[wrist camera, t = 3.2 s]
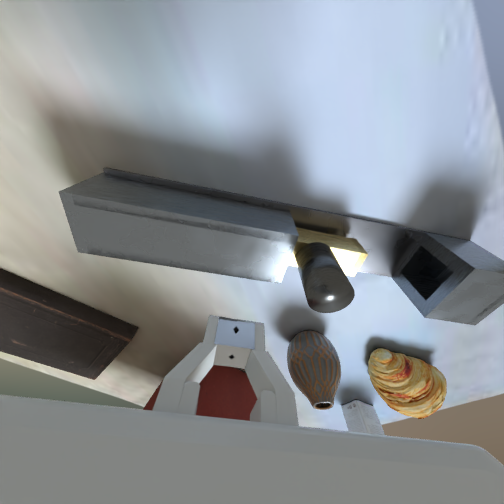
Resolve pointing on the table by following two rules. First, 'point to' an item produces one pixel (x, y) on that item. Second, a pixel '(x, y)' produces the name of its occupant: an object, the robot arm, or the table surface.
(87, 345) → the hardcover book
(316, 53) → the table surface
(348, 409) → the skincare box
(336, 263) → the sliding bolt
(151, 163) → the table surface
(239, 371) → the plant pot
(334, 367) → the vase
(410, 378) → the croissant
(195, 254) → the guide
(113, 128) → the table surface
